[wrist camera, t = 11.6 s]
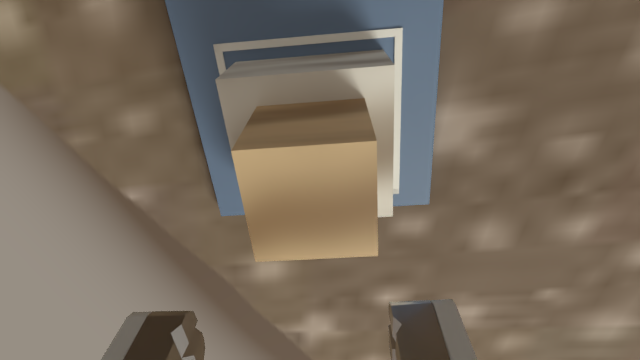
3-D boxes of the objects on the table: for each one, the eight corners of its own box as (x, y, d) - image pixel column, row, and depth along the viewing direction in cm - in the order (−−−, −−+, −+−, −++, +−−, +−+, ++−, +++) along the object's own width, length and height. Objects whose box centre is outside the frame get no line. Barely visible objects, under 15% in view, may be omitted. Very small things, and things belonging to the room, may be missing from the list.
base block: (235, 61, 20) (215, 79, 16) (383, 49, 19) (394, 65, 16) (259, 188, 24) (247, 224, 20) (383, 180, 23) (392, 216, 20)
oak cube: (256, 106, 17) (230, 150, 13) (364, 98, 17) (376, 141, 12) (272, 197, 19) (255, 261, 15) (367, 192, 19) (377, 255, 15)
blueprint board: (113, -233, 15) (98, -248, 14) (456, -282, 14) (465, -301, 13) (225, 208, 26) (220, 216, 25) (425, 196, 25) (429, 204, 24)
